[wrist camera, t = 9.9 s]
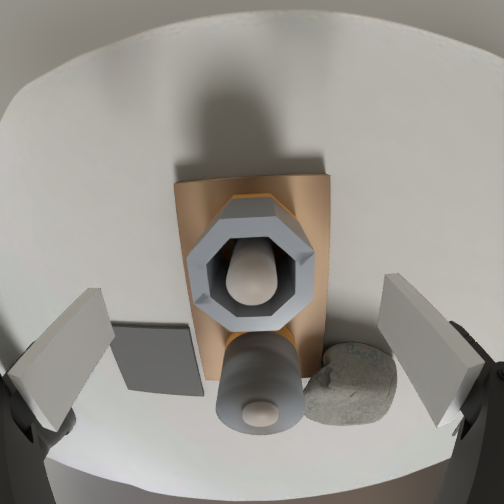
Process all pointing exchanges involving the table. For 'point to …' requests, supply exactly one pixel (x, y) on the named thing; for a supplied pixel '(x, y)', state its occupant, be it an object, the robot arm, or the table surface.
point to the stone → (351, 386)
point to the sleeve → (218, 257)
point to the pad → (157, 359)
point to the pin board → (312, 223)
